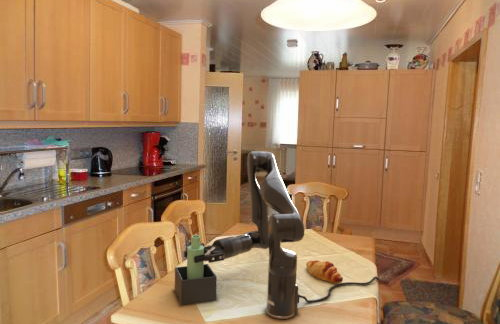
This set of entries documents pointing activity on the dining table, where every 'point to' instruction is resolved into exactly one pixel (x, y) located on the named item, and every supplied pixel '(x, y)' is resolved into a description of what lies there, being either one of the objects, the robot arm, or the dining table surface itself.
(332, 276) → the croissant
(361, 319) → the dining table surface
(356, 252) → the dining table surface
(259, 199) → the robot arm
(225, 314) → the dining table surface
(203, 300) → the bin
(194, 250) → the bottle
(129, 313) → the dining table surface
